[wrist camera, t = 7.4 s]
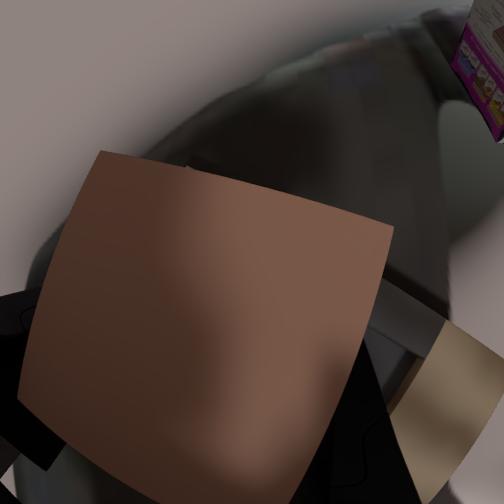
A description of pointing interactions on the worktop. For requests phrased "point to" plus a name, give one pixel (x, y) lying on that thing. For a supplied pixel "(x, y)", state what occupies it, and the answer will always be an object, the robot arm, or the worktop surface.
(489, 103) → the candy bar box
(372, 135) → the worktop surface
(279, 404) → the brown rectangular block
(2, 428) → the robot arm
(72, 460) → the worktop surface
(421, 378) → the board
